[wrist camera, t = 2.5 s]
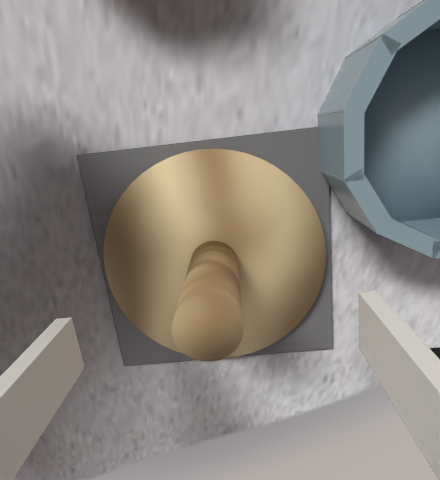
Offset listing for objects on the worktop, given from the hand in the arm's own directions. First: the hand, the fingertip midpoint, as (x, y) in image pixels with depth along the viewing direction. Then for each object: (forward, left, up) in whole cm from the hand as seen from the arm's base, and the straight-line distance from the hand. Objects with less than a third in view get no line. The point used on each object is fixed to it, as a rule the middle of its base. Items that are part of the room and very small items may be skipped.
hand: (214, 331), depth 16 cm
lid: (0, 0, -9) cm, 9 cm away
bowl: (+14, +7, -9) cm, 18 cm away
